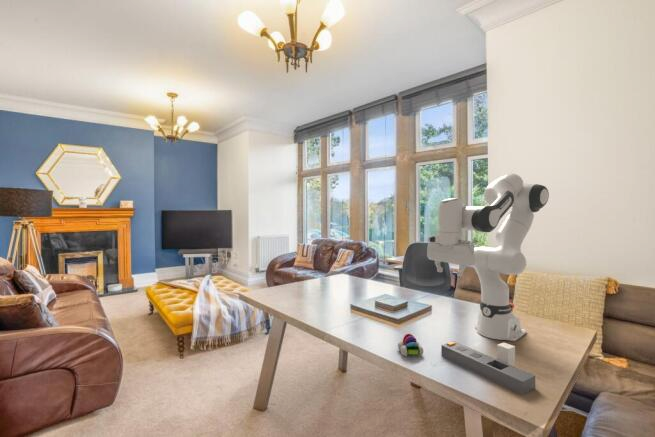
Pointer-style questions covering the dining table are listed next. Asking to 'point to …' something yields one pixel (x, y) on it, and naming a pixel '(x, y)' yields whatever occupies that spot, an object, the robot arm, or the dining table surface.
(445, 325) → the dining table surface
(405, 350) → the multicoloured domed toy
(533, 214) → the robot arm
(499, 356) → the charger plug
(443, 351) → the power strip
